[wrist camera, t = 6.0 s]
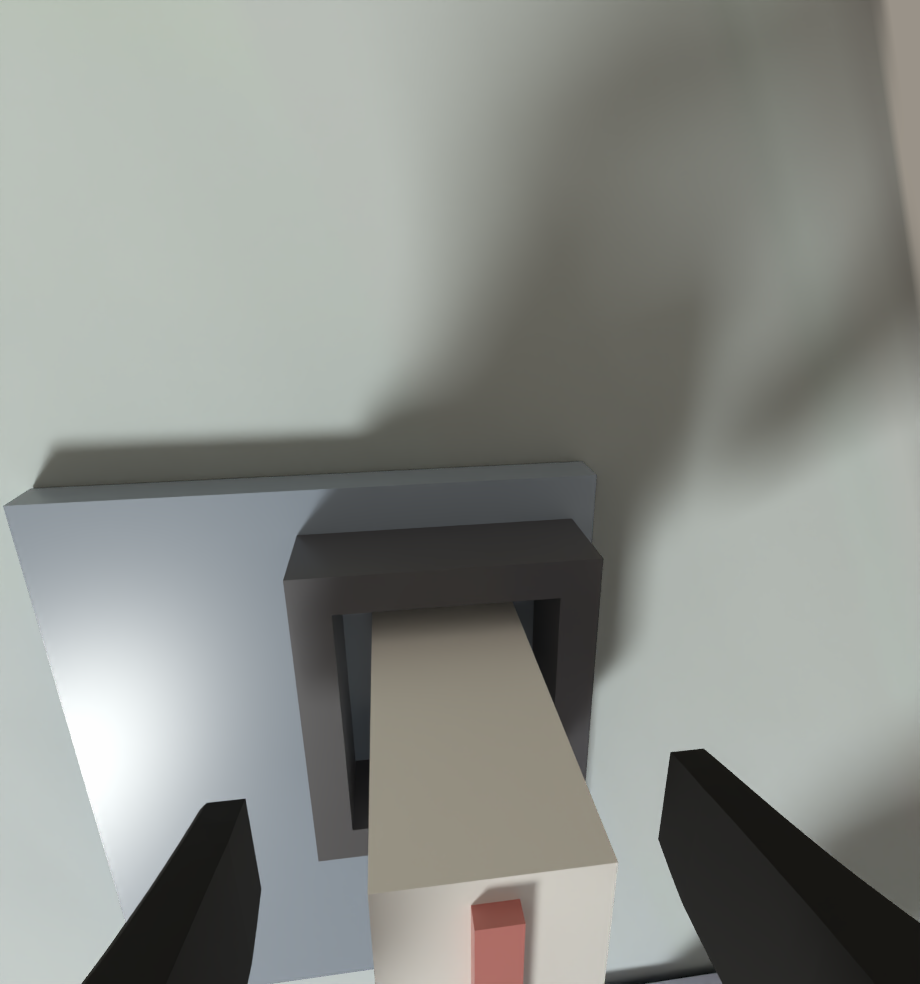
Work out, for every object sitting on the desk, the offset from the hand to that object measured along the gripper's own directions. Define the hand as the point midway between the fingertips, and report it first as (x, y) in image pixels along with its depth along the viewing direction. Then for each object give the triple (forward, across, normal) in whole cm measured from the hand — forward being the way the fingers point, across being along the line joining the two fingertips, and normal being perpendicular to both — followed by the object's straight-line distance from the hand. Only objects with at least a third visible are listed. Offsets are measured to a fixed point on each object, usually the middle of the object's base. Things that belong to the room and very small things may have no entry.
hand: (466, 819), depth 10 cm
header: (+4, 0, 0) cm, 4 cm away
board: (+5, +2, +3) cm, 7 cm away
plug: (+4, 0, 0) cm, 4 cm away
